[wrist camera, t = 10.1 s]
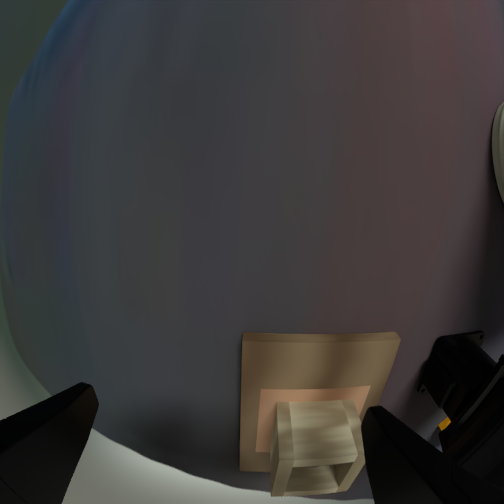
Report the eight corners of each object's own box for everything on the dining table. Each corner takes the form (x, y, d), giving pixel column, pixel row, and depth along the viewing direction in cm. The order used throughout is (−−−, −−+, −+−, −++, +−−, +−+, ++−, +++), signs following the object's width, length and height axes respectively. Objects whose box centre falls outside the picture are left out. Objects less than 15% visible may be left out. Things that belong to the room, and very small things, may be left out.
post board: (395, 331, 20) (425, 371, 14) (345, 459, 24) (354, 495, 19) (243, 332, 20) (237, 380, 15) (240, 462, 25) (237, 501, 19)
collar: (352, 398, 20) (371, 452, 14) (336, 442, 22) (346, 490, 16) (276, 401, 20) (279, 460, 14) (270, 445, 22) (270, 496, 16)
